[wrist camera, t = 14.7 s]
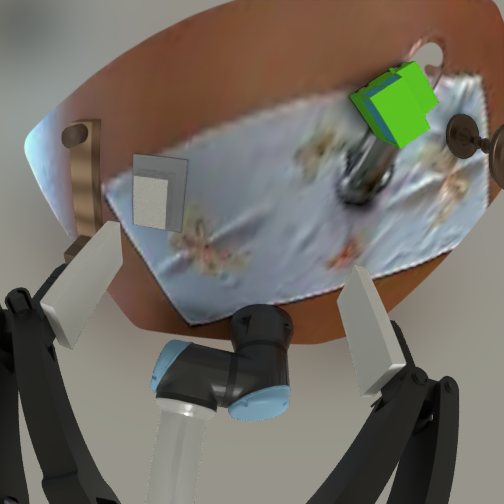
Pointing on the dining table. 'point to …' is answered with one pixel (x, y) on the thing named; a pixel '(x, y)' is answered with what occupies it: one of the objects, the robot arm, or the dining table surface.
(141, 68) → the dining table surface
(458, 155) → the candlestick
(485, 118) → the dining table surface
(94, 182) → the plane body
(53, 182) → the dining table surface
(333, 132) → the dining table surface
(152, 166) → the grey mat
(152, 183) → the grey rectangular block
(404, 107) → the toy block
